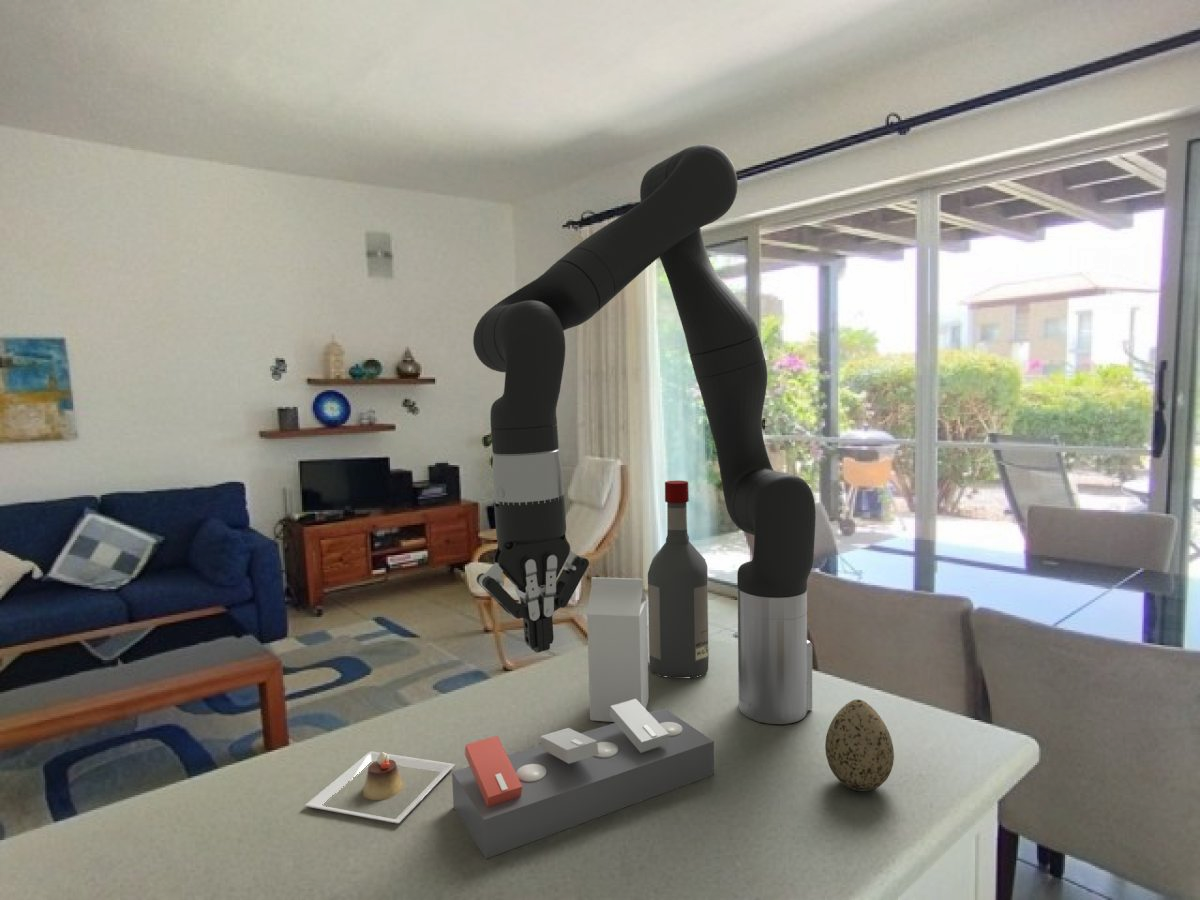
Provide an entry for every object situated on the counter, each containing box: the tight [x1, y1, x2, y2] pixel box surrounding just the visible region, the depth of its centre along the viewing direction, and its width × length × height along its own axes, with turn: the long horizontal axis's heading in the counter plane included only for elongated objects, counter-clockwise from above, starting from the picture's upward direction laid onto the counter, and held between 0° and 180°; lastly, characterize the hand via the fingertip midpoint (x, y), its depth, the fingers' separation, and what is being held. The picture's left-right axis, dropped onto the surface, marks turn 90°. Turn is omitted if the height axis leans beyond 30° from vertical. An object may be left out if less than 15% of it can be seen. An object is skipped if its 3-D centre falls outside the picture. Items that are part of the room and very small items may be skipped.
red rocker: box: [464, 735, 522, 807], centre depth 73 cm, size 4×7×2 cm, turn 30°
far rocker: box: [610, 699, 669, 753], centre depth 82 cm, size 4×7×2 cm, turn 30°
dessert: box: [303, 750, 456, 824], centre depth 81 cm, size 12×12×5 cm
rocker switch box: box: [451, 707, 715, 860], centre depth 79 cm, size 28×10×4 cm, turn 120°
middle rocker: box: [539, 727, 599, 764], centre depth 78 cm, size 4×7×2 cm, turn 30°
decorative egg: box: [824, 699, 895, 792], centre depth 78 cm, size 7×7×10 cm
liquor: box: [647, 480, 710, 679], centre depth 112 cm, size 9×9×30 cm
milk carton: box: [586, 576, 650, 723], centre depth 97 cm, size 7×7×19 cm
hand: (539, 649), depth 77 cm, fingers closed
